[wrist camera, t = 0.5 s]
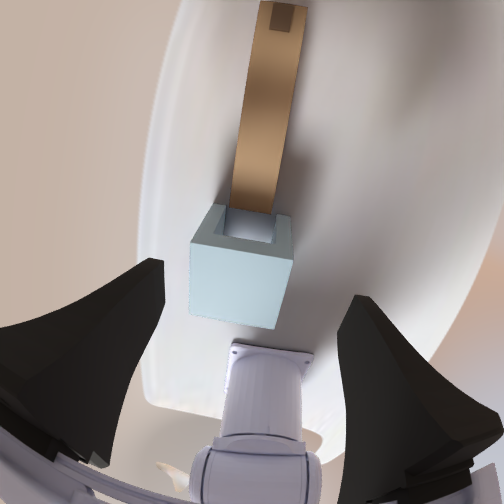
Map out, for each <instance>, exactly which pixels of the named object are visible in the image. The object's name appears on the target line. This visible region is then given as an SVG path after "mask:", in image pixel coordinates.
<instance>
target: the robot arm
mask: <svg viewBox="0 0 504 504" xmlns="http://www.w3.org/2000/svg"><path fill="white" fill-rule="evenodd" d="M164 305H165V283H164V261H163V260H158V259H153V258H147V259H146V260H144V261H142V262H141V263H139V264H138V265H136V266H134V267H133V268H131V269H130V270H128V271H127V272H125V273H124V274H122V275H120V276H119V277H117V278H116V279H114V280H112V281H111V282H109V283H108V284H106V285H104V286H103V287H101V288H99V289H97V290H96V291H94V292H92V293H91V294H89V295H87V296H85V297H83V298H82V299H80V300H78V301H76V302H74V303H72V304H70V305H67V306H65V307H63V308H61V309H59V310H56V311H53V312H51V313H48V314H46V315H43V316H41V317H38V318H35V319H32V320H29V321H26V322H22V323H19V324H15V325H11V326H7V327H2V328H0V498H1V499H2V500H3V501H4V502H5V503H6V504H109V503H107V502H105V501H102V500H100V499H97V498H96V497H95V495H94V492H93V490H92V489H94V490H96V491H98V492H100V493H103V494H105V495H107V496H110V497H112V498H115V499H117V500H120V501H122V502H125V503H128V504H319V501H320V496H321V487H322V471H321V463H320V460H319V458H318V457H317V456H316V455H315V454H314V452H312V451H306V447H305V446H306V443H305V442H302V397H301V383H302V381H303V379H304V377H305V375H306V373H307V371H308V369H309V367H310V365H311V363H312V362H313V359H314V356H313V355H312V354H309V353H300V352H292V351H284V350H277V349H270V348H263V347H256V346H250V345H244V344H238V343H233V344H231V346H230V353H229V359H228V366H227V373H226V380H225V387H224V393H225V394H227V395H226V400H225V406H224V412H223V417H222V423H221V429H220V434H219V437H214V441H213V446H208V445H207V446H205V447H204V448H203V449H201V450H200V451H199V452H198V453H197V454H196V456H195V459H194V461H193V464H192V468H191V473H190V480H189V494H190V499H191V502H189V501H185V500H180V499H176V498H172V497H168V496H165V495H161V494H158V493H154V492H151V491H148V490H145V489H142V488H139V487H136V486H133V485H130V484H127V483H125V482H122V481H119V480H117V479H114V478H112V477H109V476H107V475H105V474H102V473H100V472H98V471H95V470H93V469H91V468H89V467H87V466H85V465H83V464H81V463H79V462H78V461H79V460H80V461H82V462H83V463H86V464H88V463H89V464H92V465H94V466H96V467H98V468H105V467H108V466H109V465H110V458H111V452H112V447H113V441H114V437H115V432H116V428H117V424H118V420H119V416H120V412H121V409H122V405H123V402H124V399H125V395H126V392H127V389H128V386H129V383H130V380H131V378H132V375H133V373H134V371H135V368H136V366H137V364H138V362H139V360H140V358H141V356H142V354H143V352H144V350H145V348H146V346H147V344H148V342H149V340H150V338H151V336H152V334H153V332H154V330H155V328H156V326H157V324H158V322H159V319H160V316H161V314H162V311H163V308H164ZM337 345H338V359H339V365H340V372H341V378H342V384H343V391H344V398H345V406H346V447H345V460H344V469H343V476H342V482H341V488H340V493H339V498H338V502H337V504H502V500H501V493H500V487H499V482H498V477H497V472H496V468H495V464H494V463H491V464H489V465H487V466H485V467H483V468H481V469H479V470H477V471H475V472H473V473H471V474H470V470H469V468H471V467H473V465H474V461H473V457H475V456H476V455H478V454H479V453H481V452H482V451H484V450H485V449H487V448H488V447H490V446H491V445H492V444H494V443H495V442H496V441H497V440H498V439H499V438H501V436H502V435H503V433H504V428H503V425H502V422H501V419H500V417H499V415H498V413H497V412H495V411H493V410H491V409H489V408H488V407H486V406H484V405H482V404H480V403H479V402H477V401H475V400H474V399H472V398H471V397H469V396H468V395H466V394H465V393H464V392H462V391H461V390H459V389H458V388H456V387H455V386H454V385H453V384H452V383H450V382H449V381H448V380H447V379H445V378H444V377H443V376H442V375H441V374H440V373H438V372H437V371H436V370H435V369H434V368H433V367H432V366H431V365H430V364H429V363H428V362H427V361H426V360H425V359H424V358H423V357H422V356H421V355H420V354H419V353H418V352H417V351H416V350H415V349H414V347H413V346H412V345H411V344H410V343H409V342H408V341H407V340H406V339H405V337H404V336H403V335H402V334H401V333H400V332H399V330H398V329H397V328H396V327H395V326H394V324H393V323H392V322H391V321H390V320H389V318H388V317H387V316H386V315H385V314H384V312H383V311H382V310H381V309H380V308H379V307H378V305H377V304H376V303H375V302H374V301H373V300H372V299H371V298H370V297H368V296H361V295H355V296H354V298H353V300H352V303H351V305H350V307H349V309H348V311H347V313H346V315H345V317H344V319H343V321H342V324H341V326H340V328H339V330H338V332H337Z"/></svg>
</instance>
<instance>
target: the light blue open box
mask: <svg viewBox="0 0 504 504" xmlns="http://www.w3.org/2000/svg"><path fill="white" fill-rule="evenodd" d="M225 213H226V205H221V204H214V203H213V205H212V206H211V208H210V210H209V211H208V213H207V215H206V216H205V218H204V220H203V221H202V223H201V225H200V226H199V228H198V230H197V232H196V233H195V235H194V237H193V239H192V240H191V242H190V264H189V314H190V315H194V316H199V317H204V318H209V319H215V320H220V321H225V322H231V323H236V324H242V325H248V326H254V327H260V328H267V329H273V330H274V328H275V325H276V322H277V318H278V315H279V311H280V308H281V304H282V301H283V297H284V293H285V290H286V286H287V283H288V279H289V275H290V272H291V268H292V264H293V246H292V233H291V220H290V216H286V215H280V214H277V216H276V221H275V226H274V231H273V236H272V241H271V244H270V243H265V242H259V241H253V240H247V239H241V238H236V237H230V236H224V235H223V231H224V222H225Z"/></svg>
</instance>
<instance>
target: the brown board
mask: <svg viewBox="0 0 504 504" xmlns="http://www.w3.org/2000/svg"><path fill="white" fill-rule="evenodd" d="M307 9H308V7H303V6H297V5H292V4H285V3H278V2H270V1H260V6H259V11H258V17H257V22H256V28H255V33H254V39H253V45H252V51H251V56H250V62H249V69H248V75H247V81H246V87H245V94H244V100H243V107H242V114H241V120H240V127H239V134H238V142H237V149H236V156H235V164H234V171H233V179H232V187H231V195H230V203H229V207H230V208H236V209H242V210H248V211H254V212H260V213H266V214H271V211H272V206H273V201H274V196H275V190H276V185H277V180H278V174H279V169H280V164H281V158H282V153H283V147H284V142H285V136H286V131H287V125H288V120H289V114H290V109H291V103H292V97H293V92H294V86H295V80H296V74H297V69H298V63H299V57H300V51H301V45H302V39H303V33H304V27H305V21H306V15H307Z"/></svg>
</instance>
